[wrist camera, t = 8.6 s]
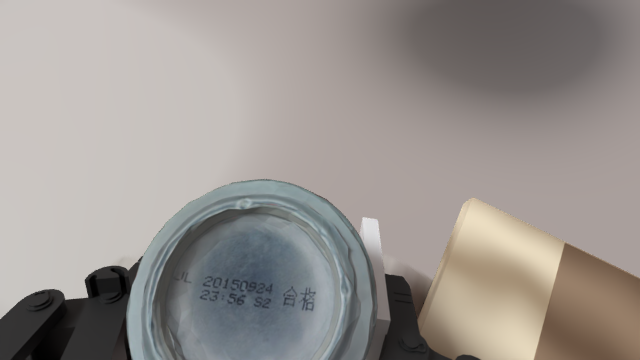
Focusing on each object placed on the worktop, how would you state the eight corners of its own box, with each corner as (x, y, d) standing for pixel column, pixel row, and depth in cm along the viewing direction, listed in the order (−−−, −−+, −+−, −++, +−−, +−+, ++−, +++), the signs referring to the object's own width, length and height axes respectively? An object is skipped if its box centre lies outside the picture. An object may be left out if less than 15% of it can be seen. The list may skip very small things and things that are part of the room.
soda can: (346, 368, 19) (393, 464, 7) (221, 367, 19) (70, 460, 7) (344, 243, 21) (377, 168, 10) (234, 241, 21) (138, 164, 10)
